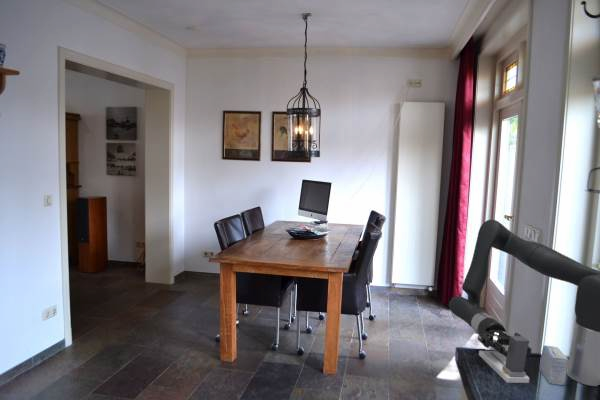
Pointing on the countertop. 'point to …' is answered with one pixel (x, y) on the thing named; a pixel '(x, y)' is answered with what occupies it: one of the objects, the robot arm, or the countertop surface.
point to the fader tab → (516, 356)
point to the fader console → (498, 362)
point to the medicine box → (553, 365)
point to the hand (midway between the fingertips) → (516, 351)
